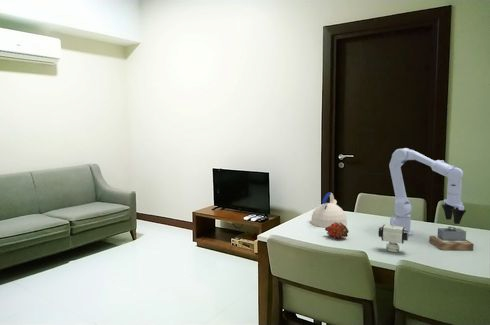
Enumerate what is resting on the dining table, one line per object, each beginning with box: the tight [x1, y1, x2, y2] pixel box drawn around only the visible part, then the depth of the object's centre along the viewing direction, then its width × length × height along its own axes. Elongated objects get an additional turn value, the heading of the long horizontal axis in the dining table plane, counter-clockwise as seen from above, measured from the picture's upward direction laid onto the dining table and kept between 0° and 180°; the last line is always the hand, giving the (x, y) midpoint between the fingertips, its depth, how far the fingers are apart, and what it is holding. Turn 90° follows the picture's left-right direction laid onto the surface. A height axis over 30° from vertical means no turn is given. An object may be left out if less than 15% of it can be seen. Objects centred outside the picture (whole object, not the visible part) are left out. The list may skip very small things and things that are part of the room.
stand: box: [428, 235, 475, 251], centre depth 159 cm, size 14×11×3 cm
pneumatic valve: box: [378, 224, 409, 253], centre depth 153 cm, size 6×12×12 cm, turn 60°
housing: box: [437, 226, 467, 241], centre depth 159 cm, size 10×5×5 cm, turn 86°
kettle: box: [310, 192, 348, 228], centre depth 198 cm, size 20×21×18 cm
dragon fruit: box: [324, 222, 349, 240], centre depth 172 cm, size 8×8×12 cm
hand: (452, 221), depth 164 cm, fingers open, 7 cm apart
